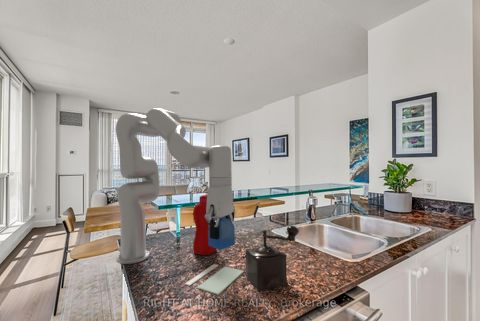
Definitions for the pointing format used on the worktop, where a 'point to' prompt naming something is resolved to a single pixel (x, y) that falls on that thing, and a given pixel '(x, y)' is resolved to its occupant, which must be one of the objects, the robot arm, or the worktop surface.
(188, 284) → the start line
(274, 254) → the dark brown coffee grinder
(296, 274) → the worktop surface
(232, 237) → the perfume bottle
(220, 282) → the mat
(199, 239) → the water bottle
